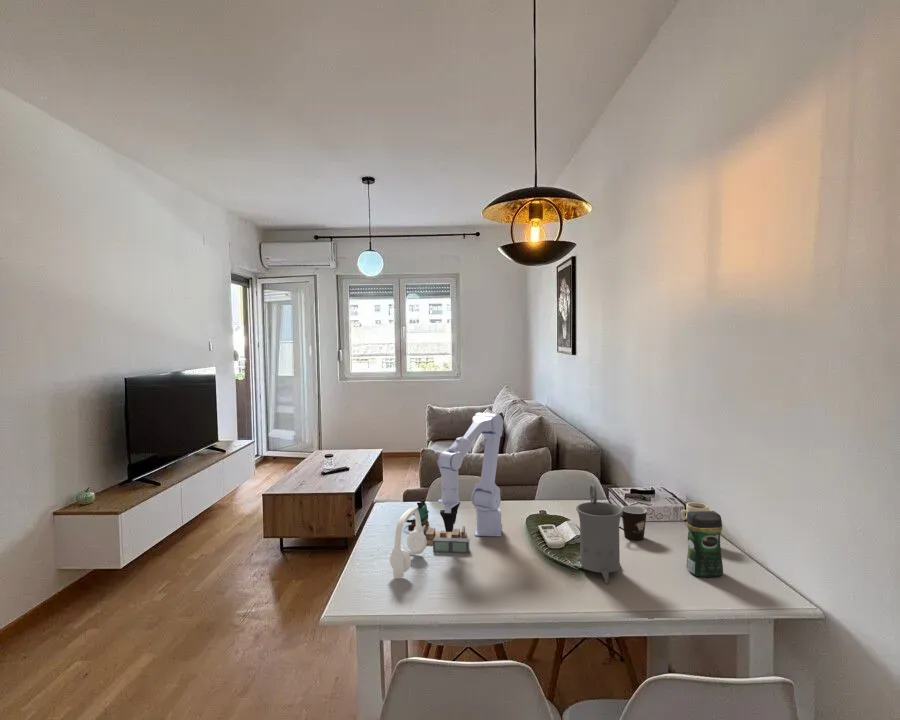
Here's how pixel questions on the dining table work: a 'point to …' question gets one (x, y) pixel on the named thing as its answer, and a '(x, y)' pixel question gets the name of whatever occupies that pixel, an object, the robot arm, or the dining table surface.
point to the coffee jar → (704, 543)
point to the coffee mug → (634, 522)
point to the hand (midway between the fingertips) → (450, 527)
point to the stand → (443, 534)
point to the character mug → (693, 509)
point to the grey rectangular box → (451, 545)
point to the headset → (414, 541)
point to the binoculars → (423, 514)
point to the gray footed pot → (599, 535)
